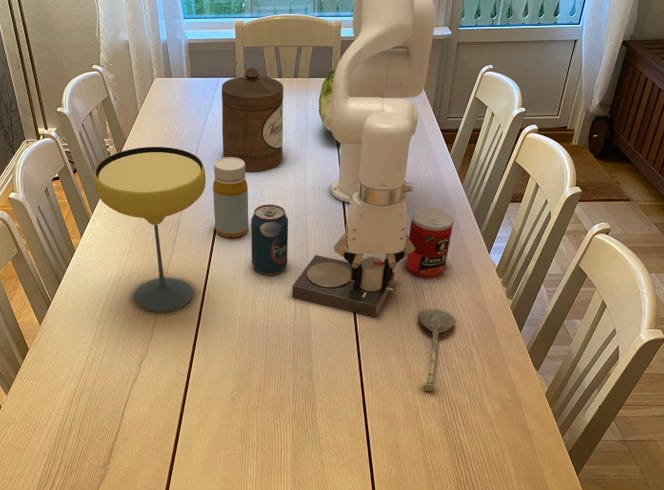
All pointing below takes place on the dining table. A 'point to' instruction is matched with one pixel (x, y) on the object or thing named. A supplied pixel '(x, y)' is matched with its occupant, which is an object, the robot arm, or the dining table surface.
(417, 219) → the canned food
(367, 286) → the hob knob
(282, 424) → the dining table surface
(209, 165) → the dining table surface
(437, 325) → the soupspoon
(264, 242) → the soda can
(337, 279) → the burner ring
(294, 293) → the hob
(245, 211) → the bottle
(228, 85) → the wooden container
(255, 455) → the dining table surface
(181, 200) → the cocktail glass
